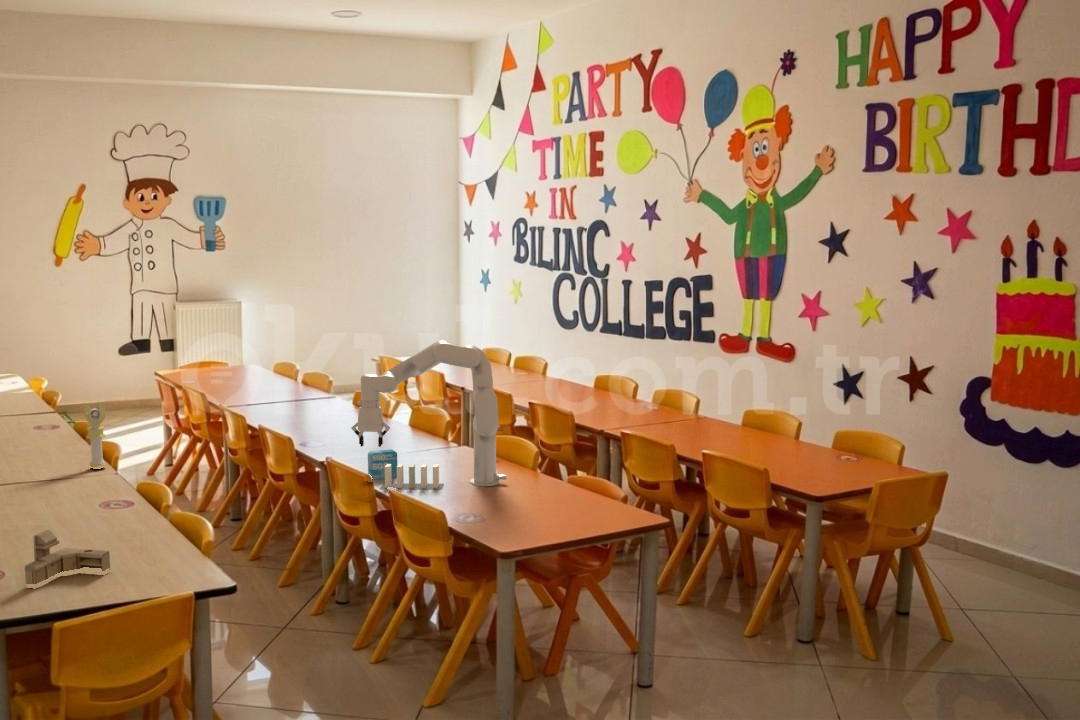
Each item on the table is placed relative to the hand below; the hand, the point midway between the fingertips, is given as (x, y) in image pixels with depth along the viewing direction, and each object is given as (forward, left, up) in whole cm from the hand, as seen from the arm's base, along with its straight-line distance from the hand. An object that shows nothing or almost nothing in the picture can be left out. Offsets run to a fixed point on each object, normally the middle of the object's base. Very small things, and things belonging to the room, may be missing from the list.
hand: (371, 445), depth 422 cm
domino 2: (-12, 0, -17) cm, 21 cm away
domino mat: (-17, 0, -18) cm, 25 cm away
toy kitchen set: (+74, +114, -18) cm, 137 cm away
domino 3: (-17, 0, -17) cm, 24 cm away
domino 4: (-22, 0, -17) cm, 28 cm away
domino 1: (-7, 0, -17) cm, 19 cm away
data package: (-2, -16, -18) cm, 24 cm away
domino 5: (-27, 0, -17) cm, 32 cm away
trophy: (+129, -29, -18) cm, 133 cm away
